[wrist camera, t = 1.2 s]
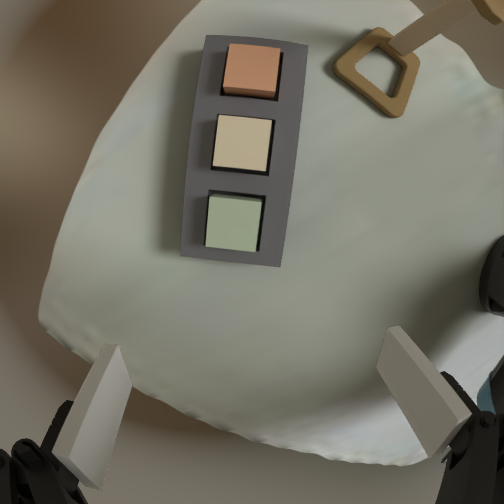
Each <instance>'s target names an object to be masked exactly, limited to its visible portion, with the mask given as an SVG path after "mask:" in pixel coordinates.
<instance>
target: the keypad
mask: <svg viewBox="0 0 504 504" xmlns="http://www.w3.org/2000/svg"><path fill="white" fill-rule="evenodd" d="M230 44H244V45H255V46H265V47H273V48H280V57H279V65H278V74H277V82H276V90H275V94H274V97H273V99H271V98H263V97H254V96H244V95H232V94H226V93H225V91H224V88H223V83H224V76H225V70H226V64H227V58H228V52H229V46H230ZM307 53H308V45H304V44H298V43H292V42H286V41H279V40H271V39H263V38H253V37H240V36H221V35H206V39H205V44H204V49H203V54H202V59H201V65H200V71H199V77H198V83H197V89H196V95H195V102H194V109H193V116H192V124H191V132H190V140H189V148H188V158H187V167H186V178H185V189H184V202H183V216H182V233H181V253H180V256H185V257H193V258H202V259H210V260H219V261H228V262H237V263H246V264H255V265H264V266H273V267H280V266H281V260H282V253H283V247H284V240H285V234H286V227H287V220H288V213H289V206H290V199H291V192H292V185H293V177H294V170H295V162H296V154H297V146H298V138H299V129H300V121H301V112H302V103H303V94H304V84H305V74H306V64H307ZM219 115H225V116H237V117H247V118H256V119H265V120H272V123H271V131H270V139H269V147H268V155H267V164H266V171H259V170H251V169H242V168H232V167H222V166H213V160H214V151H215V142H216V134H217V126H218V119H219ZM213 194H221V195H231V196H240V197H249V198H258V199H261V202H262V204H261V212H260V220H259V228H258V236H257V244H256V251H255V252H250V251H241V250H232V249H223V248H214V247H206V233H207V221H208V210H209V199H210V196H211V195H213Z"/></svg>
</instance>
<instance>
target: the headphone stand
mask: <svg viewBox="0 0 504 504" xmlns="http://www.w3.org/2000/svg"><path fill="white" fill-rule="evenodd" d="M477 11H478V12H479V13H480V15H481V16H482V17H484V18H485V19H487V20H488V21H489V22H490V23H492V24H493V25H497V24H500V23H503V22H504V0H447V1H445V2H443V3H442V4H440V5H439V6H437V7H435V8H434V9H433V10H431V11H430V12H428V13H426V14H425V15H423V16H422V17H420V18H419V19H418V20H416V21H415V22H413V23H412V24H410V25H409V26H408V27H406V28H405V29H403V30H402V31H401V32H399V33H398V34H396V35H395V36H393V35H391V34H390V33H389V32H388V31H386V30H385V29H383V28H380V27H377V28H375V29H374V30H372V31H371V32H370V33H369V34H367V35H366V36H365V37H364V38H362V39H361V40H360V41H359V42H357V43H356V44H355V45H354V46H353V47H351V48H350V49H349V50H348V51H347V52H346V53H344V54H343V55H342V56H341V57H340V58H339V59H337V60H336V62H335V63H334V64H333V71H334V73H335V74H336V75H337V76H338V77H339V78H341V79H342V80H343V81H345V82H346V83H348V84H349V85H350V86H352V87H353V88H354V89H356V90H357V91H358V92H359V93H361V94H362V95H363V96H365V97H366V98H367V99H368V100H370V101H371V102H372V103H373V104H374V105H376V106H377V107H378V108H379V109H380V110H382V111H383V112H384V113H385V114H386V115H387V116H389V117H391V118H397V117H400V116H402V115H403V113H404V111H405V108H406V105H407V102H408V100H409V97H410V94H411V91H412V88H413V85H414V82H415V79H416V76H417V73H418V69H419V66H420V60H419V58H418V57H417V56H416V55H415V54H414V53H413V52H412V51H414V50H415V49H417V48H418V47H420V46H421V45H423V44H424V43H426V42H427V41H429V40H431V39H432V38H434V37H435V36H437V35H438V34H440V33H442V32H443V31H445V30H446V29H448V28H450V27H451V26H453V25H455V24H456V23H458V22H459V21H461V20H463V19H465V18H466V17H468V16H470V15H472V14H473V13H475V12H477ZM376 46H377V47H380V48H381V49H382V50H384V51H385V52H386V53H388V54H389V55H390V56H391V57H392V58H394V59H395V60H396V61H397V62H398V63H400V64H401V66H402V72H401V75H400V78H399V81H398V84H397V86H396V89H395V92H394V94H393V97H392V98H390V97H388V96H387V95H386V94H384V93H383V92H382V91H381V90H380V89H378V88H377V87H376V86H375V85H374V84H372V83H371V82H370V81H368V80H367V79H366V78H365V77H363V76H362V75H361V74H359V73H358V72H357V71H356V69H355V64H356V63H357V62H358V61H359V60H360V59H361V58H362V57H364V56H365V55H366V54H367V53H368V52H369V51H371V50H372V49H373V48H374V47H376Z"/></svg>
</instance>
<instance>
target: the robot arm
mask: <svg viewBox="0 0 504 504" xmlns="http://www.w3.org/2000/svg"><path fill="white" fill-rule="evenodd" d="M479 295H480V301H481V304H482V306H483V307H484V308H485V309H486V310H488V311H489V312H490V313H492V314H494V315H498V316H502V317H504V236H503V237H502V238H501V239H500V240H499V241H498V242H497V243H496V244H495V246H494V247H493V249H492V250H491V252H490V254H489V256H488V258H487V260H486V262H485V265H484V268H483V271H482V275H481V279H480V287H479ZM376 369H377V371H378V373H379V374H380V376H381V377H382V379H383V381H384V382H385V384H386V385H387V387H388V389H389V390H390V392H391V394H392V395H393V397H394V399H395V400H396V402H397V404H398V405H399V407H400V409H401V410H402V412H403V414H404V415H405V417H406V419H407V420H408V422H409V424H410V425H411V427H412V429H413V431H414V432H415V434H416V436H417V438H418V439H419V441H420V443H421V445H422V446H423V448H424V450H425V452H426V453H427V455H428V457H429V458H432V457H434V456H436V455H438V454H440V453H442V452H443V451H444V450H445V449H446V448H447V446H448V445H449V446H450V447H451V450H450V451H449V452H448V454H446V456H445V457H444V458H443V459H442V462H441V463H443V462H444V461H445V460H446V459H447V458H448V459H447V462H446V468H445V472H444V476H443V479H442V483H441V487H440V490H439V493H438V497H437V500H436V503H435V504H504V355H503V357H502V358H501V360H500V361H499V363H498V364H497V365H496V367H495V368H494V370H493V371H491V372H490V374H489V376H488V378H487V379H486V381H485V382H484V384H483V385H482V387H481V388H480V390H479V392H478V394H477V406H476V404H475V403H474V402H473V400H472V399H471V398H470V397H469V396H468V394H467V393H466V392H465V391H463V388H462V387H461V386H460V385H459V383H458V382H457V381H456V380H455V379H454V377H453V376H451V375H450V374H448V373H447V372H445V371H443V372H439V371H438V370H437V369H436V368H435V366H434V365H433V364H432V363H431V362H430V360H429V359H428V358H427V357H426V356H425V355H424V353H423V352H422V351H421V350H420V349H419V348H418V346H417V345H416V344H415V343H414V342H413V341H412V339H411V338H410V337H409V336H408V335H407V334H406V333H405V331H404V330H403V329H402V328H401V327H400V326H394V327H388V328H387V330H386V334H385V338H384V341H383V345H382V349H381V352H380V355H379V359H378V362H377V366H376ZM131 388H132V382H131V380H130V377H129V374H128V372H127V369H126V366H125V363H124V361H123V358H122V355H121V352H120V349H119V346H118V345H115V344H104V346H103V347H102V349H101V351H100V353H99V355H98V357H97V358H96V360H95V362H94V364H93V366H92V368H91V370H90V372H89V373H88V375H87V377H86V379H85V381H84V383H83V385H82V387H81V389H80V391H79V393H78V395H77V397H76V399H75V401H69V400H66V401H65V402H64V403H63V404H62V405H61V406H60V407H59V409H58V411H57V413H56V415H55V418H54V419H53V421H52V425H50V427H49V429H48V431H47V433H46V435H45V437H44V440H43V442H42V444H41V447H40V448H39V447H38V445H37V444H36V443H35V442H33V441H32V440H30V439H27V438H26V439H21V440H19V441H17V442H16V443H15V444H14V445H13V447H12V450H11V455H12V457H10V456H9V455H8V454H7V452H5V451H4V450H3V449H0V504H88V503H87V501H86V499H85V497H84V496H83V494H82V492H81V490H80V489H79V487H78V482H79V481H80V482H81V483H82V484H84V485H85V486H86V487H90V488H93V489H97V490H101V491H102V487H103V483H104V479H105V475H106V471H107V468H108V464H109V460H110V456H111V453H112V449H113V446H114V442H115V439H116V436H117V432H118V429H119V425H120V422H121V419H122V415H123V413H124V410H125V406H126V403H127V400H128V397H129V394H130V391H131Z"/></svg>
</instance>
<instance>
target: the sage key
mask: <svg viewBox="0 0 504 504" xmlns="http://www.w3.org/2000/svg"><path fill="white" fill-rule="evenodd" d="M261 204H262V202H261V199H258V198H249V197H240V196H231V195H221V194H213V195H211V196H210V199H209V210H208V221H207V233H206V247H214V248H223V249H232V250H241V251H250V252H255V251H256V244H257V236H258V228H259V220H260V212H261Z"/></svg>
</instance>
